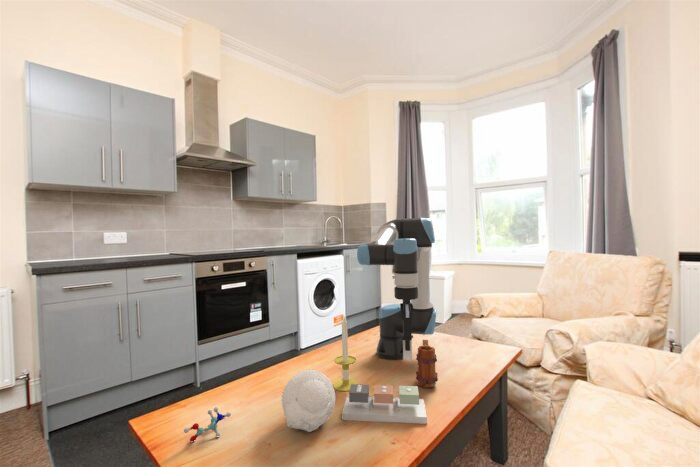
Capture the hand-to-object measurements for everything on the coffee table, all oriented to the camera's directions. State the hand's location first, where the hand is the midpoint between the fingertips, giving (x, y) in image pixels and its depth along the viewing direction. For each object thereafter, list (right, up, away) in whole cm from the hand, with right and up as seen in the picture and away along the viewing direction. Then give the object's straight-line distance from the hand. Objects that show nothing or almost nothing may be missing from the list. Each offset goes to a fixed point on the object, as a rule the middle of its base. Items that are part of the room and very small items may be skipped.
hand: (407, 359), depth 107 cm
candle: (-20, -18, +20) cm, 34 cm away
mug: (+11, -17, +22) cm, 30 cm away
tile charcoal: (-16, -13, +2) cm, 20 cm away
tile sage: (0, -13, 0) cm, 13 cm away
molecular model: (-59, -19, -10) cm, 63 cm away
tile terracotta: (-8, -13, +1) cm, 15 cm away
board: (-7, -17, +1) cm, 19 cm away
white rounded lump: (-30, -18, -6) cm, 36 cm away
